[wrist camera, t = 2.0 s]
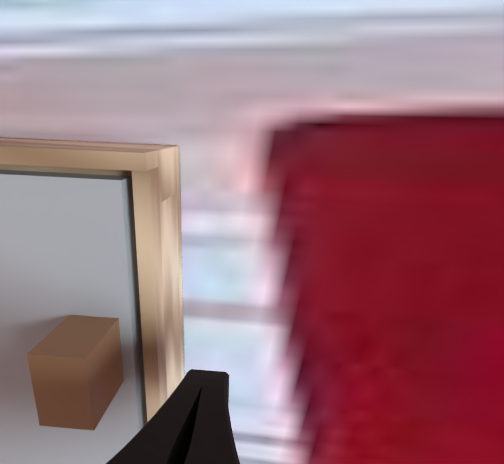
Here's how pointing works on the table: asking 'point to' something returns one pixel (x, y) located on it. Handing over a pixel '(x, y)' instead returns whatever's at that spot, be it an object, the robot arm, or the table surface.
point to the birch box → (147, 237)
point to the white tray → (68, 318)
